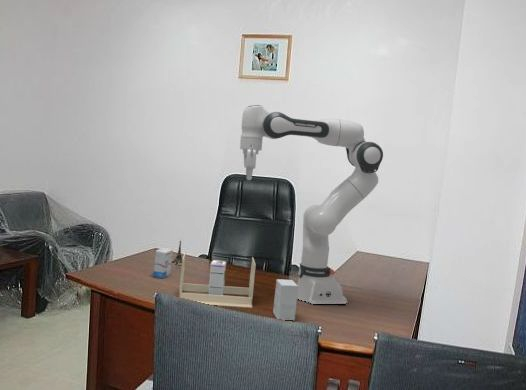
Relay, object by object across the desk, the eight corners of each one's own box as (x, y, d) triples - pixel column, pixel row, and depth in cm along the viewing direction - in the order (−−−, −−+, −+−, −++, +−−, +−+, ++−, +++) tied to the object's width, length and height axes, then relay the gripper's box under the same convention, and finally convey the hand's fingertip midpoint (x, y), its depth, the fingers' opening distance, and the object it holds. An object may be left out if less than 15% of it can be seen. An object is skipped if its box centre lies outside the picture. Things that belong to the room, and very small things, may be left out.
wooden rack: (249, 292, 197) (252, 255, 196) (252, 308, 178) (256, 266, 177) (181, 288, 194) (185, 250, 193) (178, 303, 176) (181, 261, 174)
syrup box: (222, 300, 184) (225, 264, 182) (207, 299, 184) (210, 262, 182) (223, 296, 189) (226, 261, 188) (209, 294, 189) (212, 259, 188)
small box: (294, 321, 169) (298, 285, 168) (277, 320, 168) (281, 285, 166) (288, 313, 177) (292, 279, 176) (272, 312, 175) (276, 278, 174)
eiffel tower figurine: (174, 260, 241) (176, 235, 240) (193, 263, 239) (195, 237, 238) (161, 266, 227) (163, 239, 226) (180, 269, 225) (183, 242, 223)
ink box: (163, 278, 205) (165, 252, 204) (152, 277, 206) (154, 250, 205) (171, 274, 213) (173, 248, 212) (160, 272, 214) (162, 247, 213)
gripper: (260, 145, 180) (258, 181, 181) (257, 146, 200) (254, 179, 201) (244, 143, 179) (241, 180, 180) (242, 145, 200) (240, 178, 201)
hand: (248, 179), depth 191 cm, fingers open, 8 cm apart
